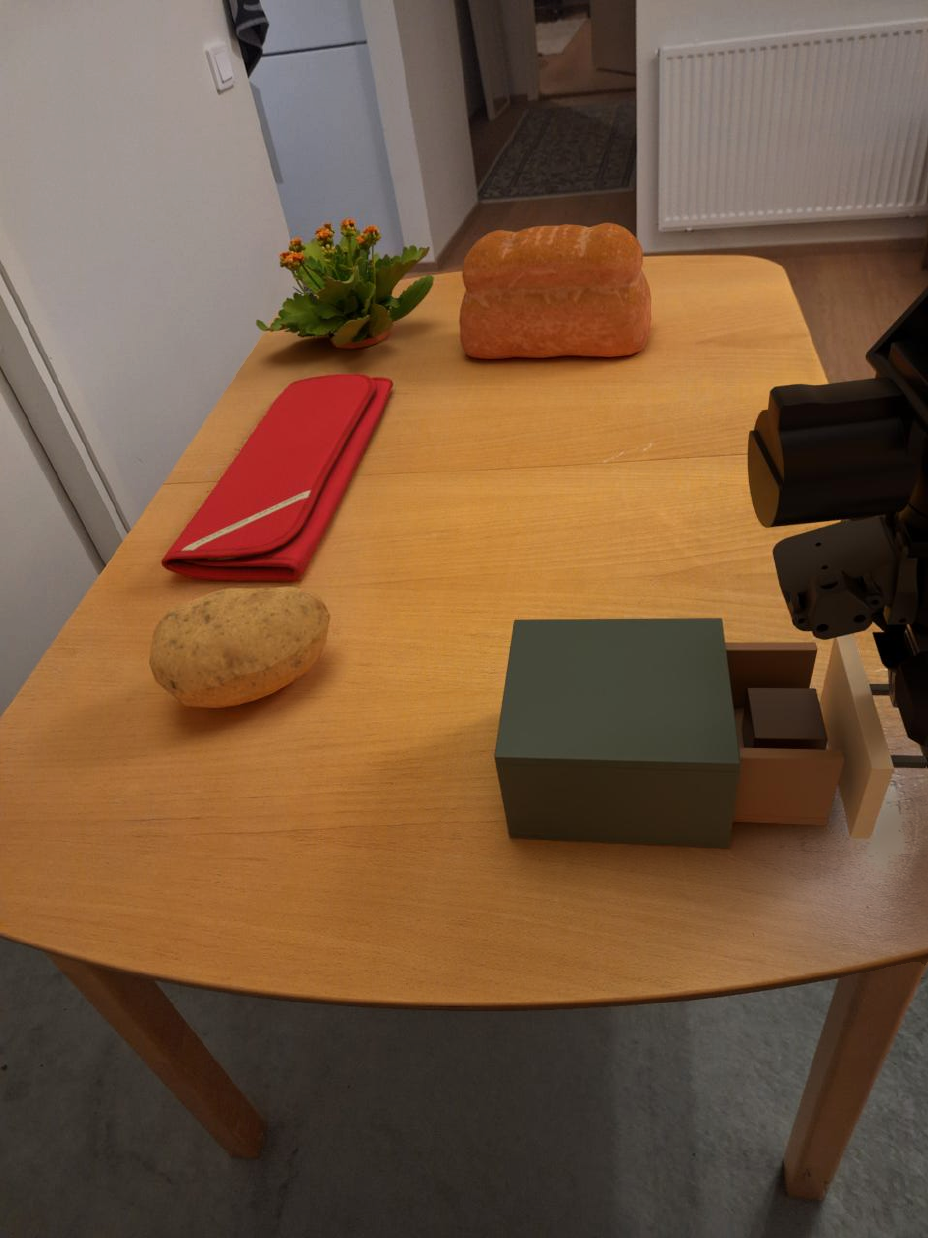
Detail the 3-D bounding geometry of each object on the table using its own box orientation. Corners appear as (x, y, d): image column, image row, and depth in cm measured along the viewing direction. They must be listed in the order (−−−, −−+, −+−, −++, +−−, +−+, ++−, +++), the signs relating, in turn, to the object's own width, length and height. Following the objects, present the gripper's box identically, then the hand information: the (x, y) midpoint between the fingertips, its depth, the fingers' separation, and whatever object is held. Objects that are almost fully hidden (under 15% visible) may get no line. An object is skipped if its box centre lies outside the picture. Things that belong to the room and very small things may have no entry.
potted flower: (349, 299, 139) (323, 188, 127) (470, 307, 128) (453, 187, 117) (259, 364, 124) (220, 245, 112) (387, 379, 113) (358, 249, 102)
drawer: (899, 705, 58) (923, 632, 54) (945, 843, 50) (977, 771, 45) (648, 701, 62) (649, 633, 57) (651, 830, 54) (653, 762, 49)
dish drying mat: (397, 389, 110) (391, 363, 108) (306, 583, 81) (296, 554, 78) (290, 396, 114) (282, 371, 111) (166, 584, 84) (152, 556, 82)
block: (741, 729, 58) (746, 687, 55) (806, 730, 57) (816, 687, 54) (748, 779, 54) (754, 738, 51) (817, 781, 53) (828, 739, 51)
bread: (478, 325, 123) (464, 218, 113) (654, 319, 115) (656, 205, 105) (455, 365, 113) (437, 253, 103) (645, 362, 106) (645, 241, 96)
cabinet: (713, 704, 62) (722, 617, 56) (729, 849, 53) (741, 763, 47) (525, 702, 65) (513, 619, 59) (509, 838, 56) (493, 757, 50)
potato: (197, 650, 76) (157, 572, 69) (347, 637, 74) (320, 555, 68) (164, 734, 68) (116, 654, 62) (330, 721, 66) (298, 638, 60)
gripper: (770, 413, 49) (748, 606, 59) (827, 624, 35) (785, 827, 45) (975, 400, 46) (915, 604, 57) (1120, 622, 33) (1006, 835, 43)
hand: (900, 703), depth 51 cm, fingers closed
